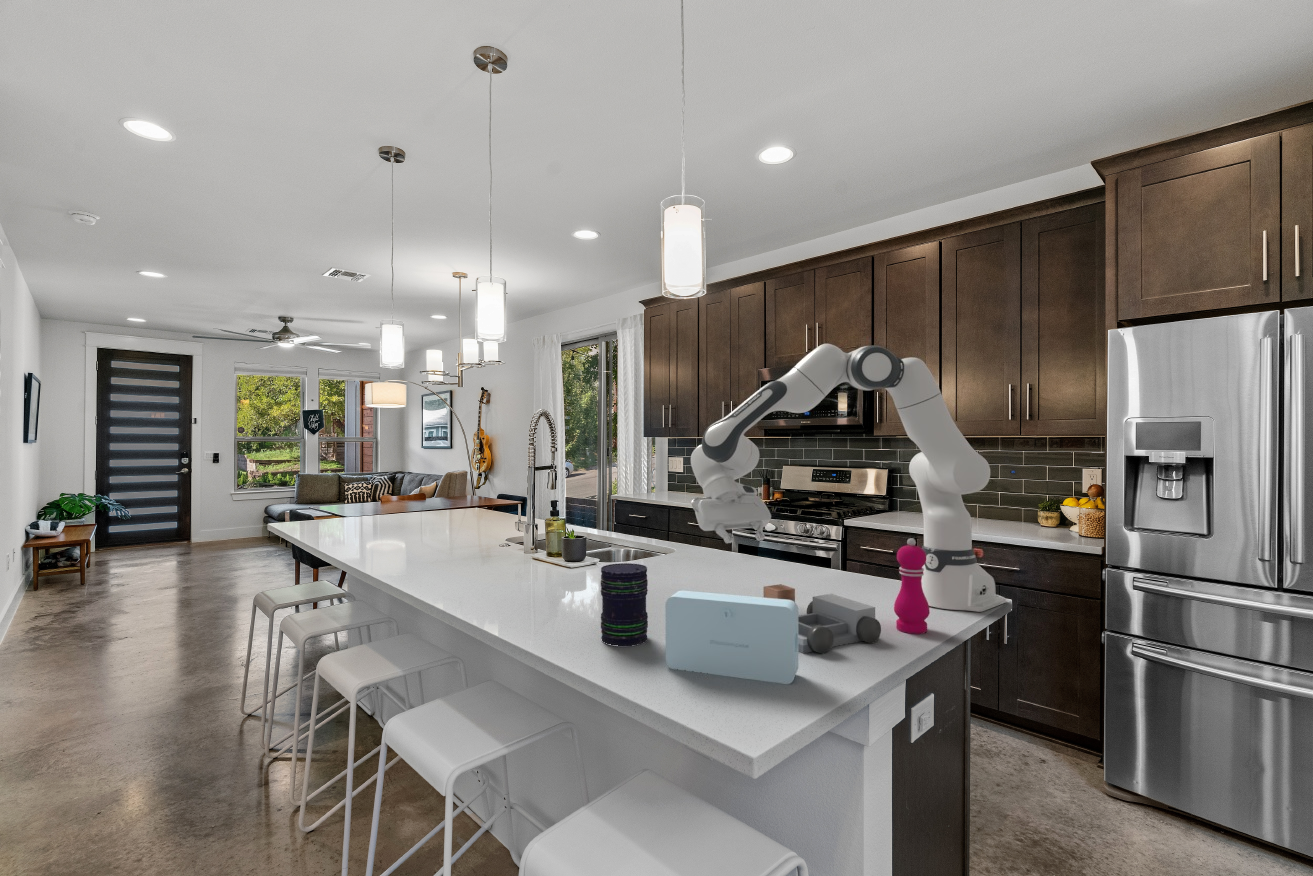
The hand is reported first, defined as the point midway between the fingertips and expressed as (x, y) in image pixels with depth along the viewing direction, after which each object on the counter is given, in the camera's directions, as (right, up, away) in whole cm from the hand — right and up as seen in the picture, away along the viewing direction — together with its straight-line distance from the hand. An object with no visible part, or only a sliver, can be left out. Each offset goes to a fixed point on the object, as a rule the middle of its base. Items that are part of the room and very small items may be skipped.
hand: (745, 540), depth 155 cm
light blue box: (-8, -17, -41) cm, 45 cm away
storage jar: (-29, -17, -22) cm, 40 cm away
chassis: (+13, -17, -21) cm, 30 cm away
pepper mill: (+34, -17, -17) cm, 41 cm away
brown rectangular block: (+6, -17, -11) cm, 21 cm away
